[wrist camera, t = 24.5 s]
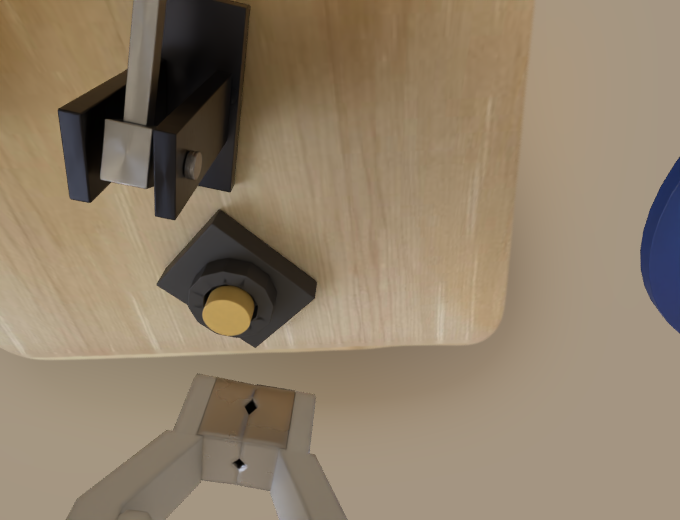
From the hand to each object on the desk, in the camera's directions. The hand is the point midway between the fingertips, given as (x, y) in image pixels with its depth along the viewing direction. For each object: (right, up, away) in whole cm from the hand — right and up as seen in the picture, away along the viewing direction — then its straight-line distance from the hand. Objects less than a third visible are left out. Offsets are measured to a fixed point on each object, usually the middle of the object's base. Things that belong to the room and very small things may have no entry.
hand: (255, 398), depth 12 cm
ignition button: (-6, 0, +24) cm, 25 cm away
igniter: (-6, +2, +27) cm, 28 cm away
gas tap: (-7, +14, +19) cm, 25 cm away
